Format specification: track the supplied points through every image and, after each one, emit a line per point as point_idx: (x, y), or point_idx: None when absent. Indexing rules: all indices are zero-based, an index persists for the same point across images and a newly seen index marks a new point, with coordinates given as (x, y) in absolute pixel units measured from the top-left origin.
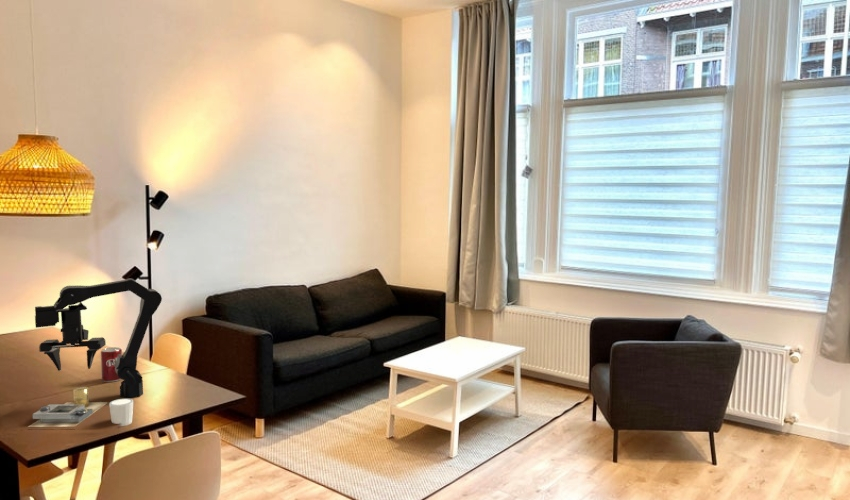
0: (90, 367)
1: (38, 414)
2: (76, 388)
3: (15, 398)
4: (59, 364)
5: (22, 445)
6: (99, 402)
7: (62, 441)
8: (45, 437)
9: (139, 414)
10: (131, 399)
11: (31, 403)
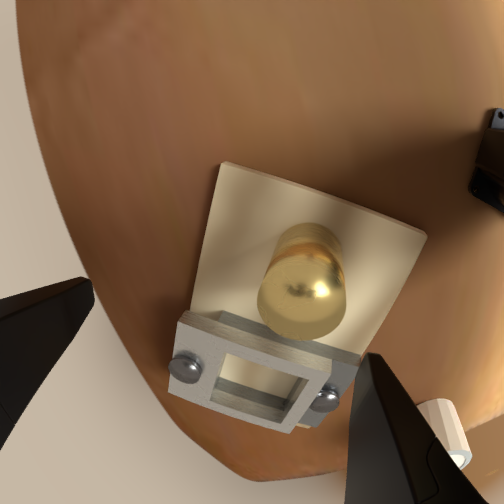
0: (380, 364)
1: (186, 399)
2: (271, 289)
3: (33, 42)
4: (57, 328)
5: (211, 443)
6: (388, 224)
7: (290, 457)
8: (245, 432)
9: (488, 367)
10: (469, 456)
11: (82, 100)
